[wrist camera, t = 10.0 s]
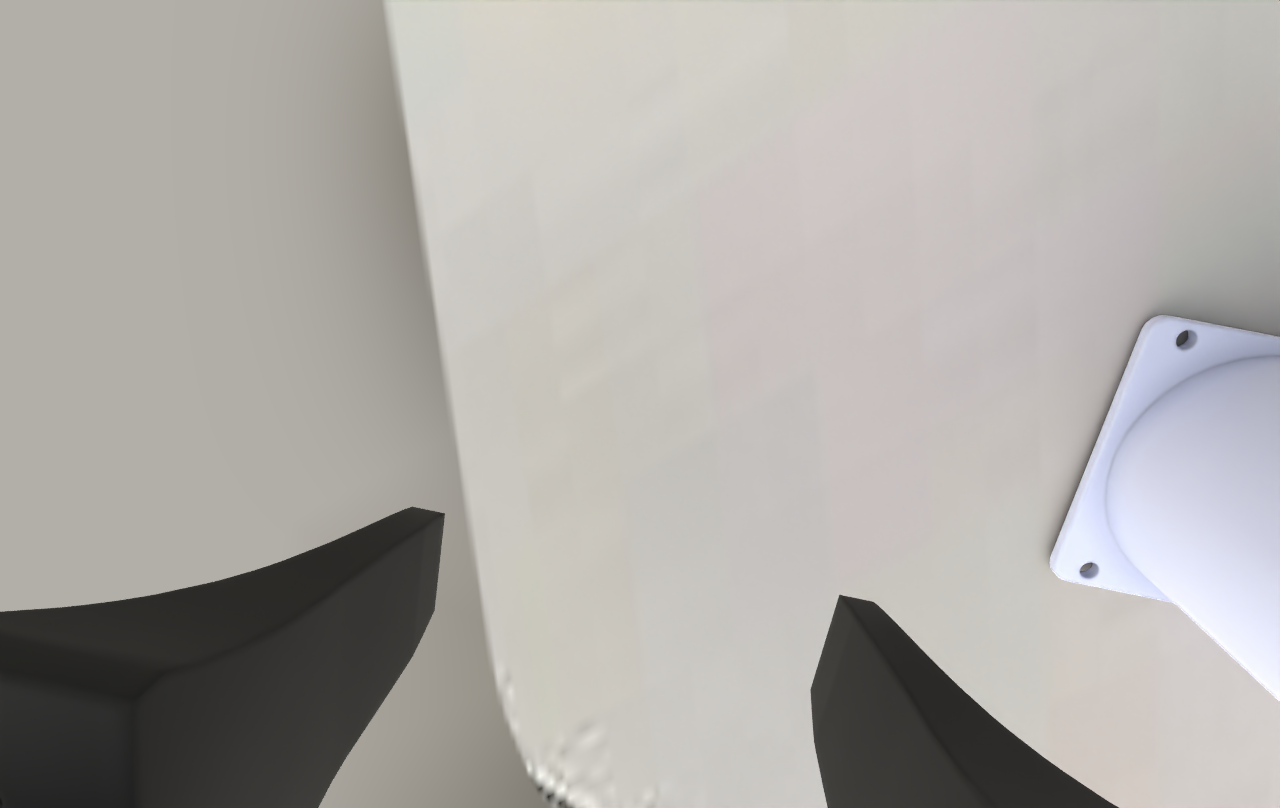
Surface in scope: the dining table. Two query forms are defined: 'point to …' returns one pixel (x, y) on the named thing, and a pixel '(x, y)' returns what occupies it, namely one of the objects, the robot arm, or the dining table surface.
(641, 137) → the dining table surface
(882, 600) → the dining table surface
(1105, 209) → the dining table surface
